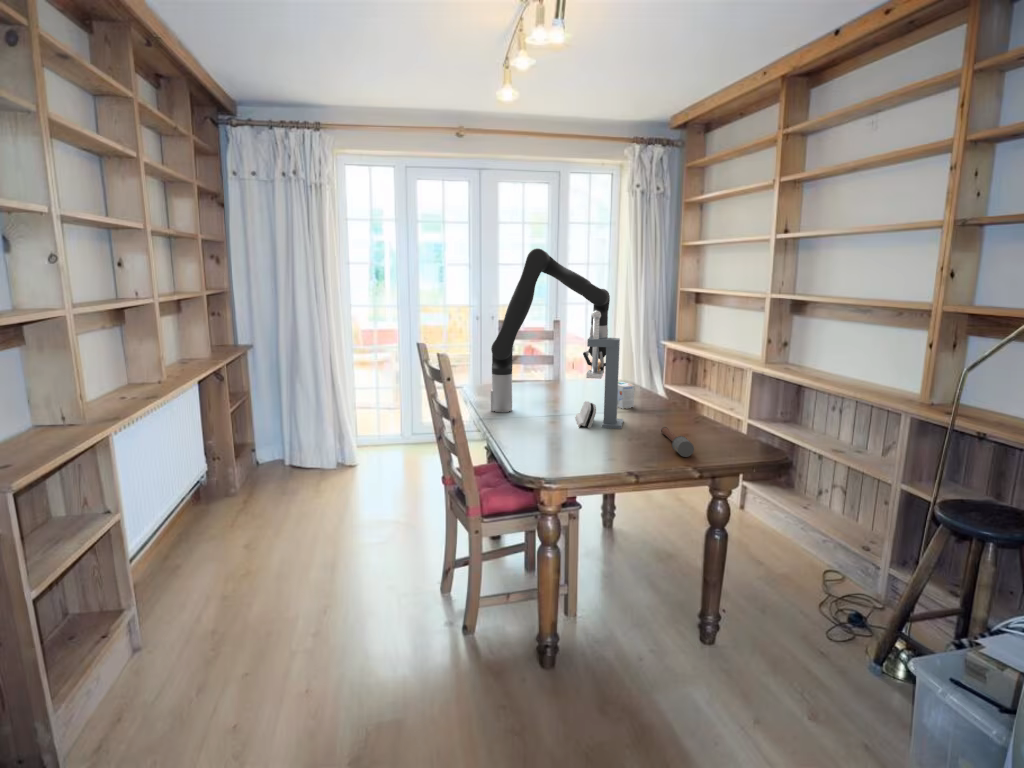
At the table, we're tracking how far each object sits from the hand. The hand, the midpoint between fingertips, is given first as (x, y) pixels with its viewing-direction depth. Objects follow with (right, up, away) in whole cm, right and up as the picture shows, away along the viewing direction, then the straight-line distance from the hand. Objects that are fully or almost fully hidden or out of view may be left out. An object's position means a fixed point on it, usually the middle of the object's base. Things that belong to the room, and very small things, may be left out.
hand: (597, 374), depth 255 cm
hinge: (-6, -21, -8) cm, 23 cm away
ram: (-2, 0, -8) cm, 8 cm away
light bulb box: (+15, -15, +22) cm, 30 cm away
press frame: (+1, -21, -10) cm, 23 cm away
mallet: (+23, -27, -39) cm, 53 cm away
